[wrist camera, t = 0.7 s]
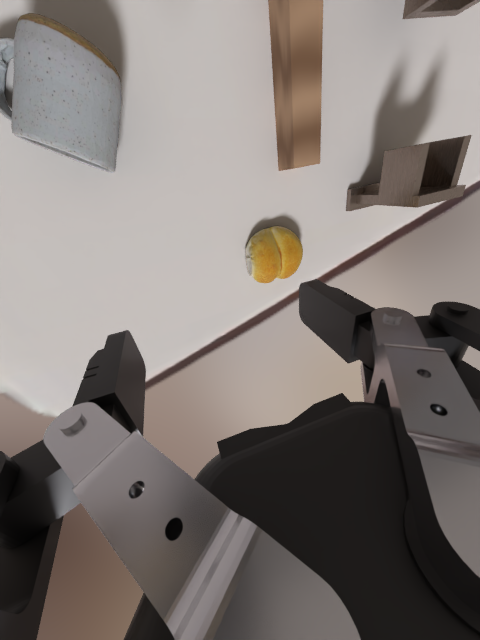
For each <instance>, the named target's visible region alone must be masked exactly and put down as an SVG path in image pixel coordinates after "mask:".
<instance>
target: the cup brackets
mask: <svg viewBox="0 0 480 640" xmlns="http://www.w3.org/2000/svg"><path fill="white" fill-rule="evenodd" d="M478 2H480V0H405V6H404V14H403V19H411V18H426V17H440V16H455V15H457V14H459V13H461V12H463V11H464V10H466V9H468V8H469V7H471V6H473V5H475V4H476V3H478ZM470 138H471V135H469V136H463V137H457V138H452V139H446V140H440V141H435V142H429V143H424V144H419V145H414V146H408V147H403V148H398V149H393V150H388V151H384V159H383V166H382V173H381V180H380V182H379V183H375V184H370V185H366V186H361V187H357V188H352V189H348V192H347V205H346V211H352V210H356V209H361V208H365V207H369V206H373V205H387V206H403V207H421V206H425V205H429V204H433V203H437V202H441V201H444V200H448V199H452V198H456V197H460V196H463V192H464V189H465V186H466V185H457V183H458V180H459V176H460V173H461V169H462V166H463V162H464V159H465V155H466V152H467V149H468V145H469V142H470Z"/></svg>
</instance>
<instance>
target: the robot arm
mask: <svg viewBox="0 0 480 640" xmlns="http://www.w3.org/2000/svg"><path fill="white" fill-rule="evenodd" d="M299 314H300V317H301V320H302V321H303V323H304V324H305V325H306V326H308V327H309V328H310V329H311V330H312V331H313V332H314V333H315V334H316V335H317V336H319V337H320V338H321V339H322V340H323V341H324V342H325V343H326V344H327V345H328V346H329V347H331V348H332V349H333V350H334V351H335V352H336V353H337V354H338V355H339V356H341V357H342V358H343V359H344V360H345V361H346V362H347V363H351V362H354V361H356V360H361V361H362V363H361V375H362V385H363V394H364V402H350V401H349V400H348V399H347V398H346V397H345V396H344V394H343V393H341V394H339V395H336V396H333V397H331V398H329V399H326V400H323V401H321V402H318V403H316V404H314V405H312V406H311V407H310V408H308V409H307V410H306V411H304V412H303V413H302V414H300V415H299V416H298V417H297V418H295V419H294V420H292V421H291V422H290V423H288V424H284V425H277V426H269V427H262V428H254V429H249V430H247V431H244V432H241V433H239V434H237V435H234V436H232V437H229V438H227V439H224V440H221V441H219V442H217V444H218V448H219V452H220V453H219V454H218V455H217V456H215V457H214V458H213V459H212V460H211V461H210V462H209V463H208V464H206V466H205V467H204V468H203V469H202V470H201V471H200V473H199V474H198V475H197V477H196V478H195V479H193V478H192V477H191V476H189V475H188V474H187V473H186V472H185V471H183V470H182V469H181V468H180V467H178V466H177V465H176V464H175V463H174V462H172V461H171V460H170V459H169V458H168V457H166V456H165V455H164V454H163V453H161V452H160V451H159V450H158V449H157V448H155V447H154V446H153V445H152V444H151V443H149V442H148V441H147V440H146V439H144V438H143V424H144V400H145V376H146V369H145V364H144V361H143V358H142V356H141V354H140V352H139V350H138V348H137V345H136V343H135V341H134V339H133V337H132V335H131V333H130V332H129V331H128V330H126V331H123V332H119V333H115V334H111V335H109V336H108V337H107V341H106V344H105V347H104V349H102V350H98V351H97V352H96V353H95V355H94V356H93V357H92V358H91V359H90V360H89V363H88V366H87V368H86V371H85V374H84V377H83V378H84V379H83V380H82V382H81V385H80V387H79V390H78V393H77V396H76V398H75V401H74V404H73V407H71V408H69V409H67V410H66V411H64V412H63V413H61V414H60V415H59V416H58V417H57V418H56V419H54V421H53V422H52V423H51V424H50V425H49V427H48V428H47V430H46V432H45V435H44V438H43V440H42V441H40V442H38V443H36V444H35V445H33V446H31V447H29V448H27V449H26V450H24V451H22V452H20V453H19V454H17V455H15V456H13V457H11V458H10V457H8V456H7V455H6V454H4V453H3V452H2V451H0V640H36V638H37V634H38V630H39V625H40V621H41V616H42V612H43V607H44V603H45V598H46V594H47V589H48V584H49V580H50V575H51V571H52V566H53V562H54V557H55V553H56V548H57V543H58V539H59V535H60V530H61V526H62V521H63V516H64V514H66V513H67V512H68V511H70V510H71V509H72V508H74V507H75V506H77V505H78V504H79V503H82V505H83V506H84V507H85V509H86V510H87V512H88V513H89V515H90V516H91V517H92V519H93V520H94V522H95V523H96V525H97V526H98V528H99V529H100V530H101V532H102V533H103V535H104V536H105V538H106V539H107V540H108V542H109V543H110V545H111V546H112V547H113V549H114V550H115V552H116V553H117V555H118V556H119V558H120V559H121V560H122V562H123V563H124V565H125V566H126V568H127V569H128V570H129V572H130V573H131V575H132V576H133V578H134V579H135V580H136V581H137V583H138V585H139V586H140V587H141V589H142V590H143V592H144V593H143V596H142V598H141V600H140V603H139V605H138V607H137V610H136V612H135V614H134V617H133V619H132V621H131V624H130V626H129V628H128V631H127V633H126V635H125V638H124V640H480V371H479V370H477V369H476V368H474V367H472V366H471V365H469V364H468V363H466V362H464V361H462V358H463V356H464V354H465V352H466V350H467V348H468V346H471V347H473V348H475V349H477V350H478V351H480V309H477V308H475V307H473V306H470V305H467V304H462V303H458V302H439V303H436V304H434V305H433V307H432V310H431V313H430V315H429V316H418V317H414V316H413V315H411V314H410V313H409V312H407V311H404V310H401V309H397V308H389V307H384V308H378V309H375V308H373V307H370V306H369V305H367V304H366V303H364V302H362V301H360V300H358V299H356V298H354V297H353V296H351V295H349V294H348V295H347V293H345V292H344V291H342V290H340V289H338V288H334V287H330V286H328V285H326V284H324V283H323V282H321V281H319V280H317V279H315V280H311V281H308V282H304V283H301V284H300V287H299Z"/></svg>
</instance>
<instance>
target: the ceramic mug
mask: <svg viewBox="0 0 480 640" xmlns="http://www.w3.org/2000/svg"><path fill="white" fill-rule="evenodd" d="M13 58H14V81H13V98H12V111H11V110H10V108H9V106H8V104H7V102H6V97H5V92H4V90H5V75H6V71H7V64H8V62H9V61H10V60H11V59H13ZM121 100H122V98H121V83H120V77H119V75H118V73H117V71H116V69H115V68H114V66H113V65H112V63H111V62H110V61H109V59H108V58H107V57H106V56H105V55H104V54H103V53H102V52H101V51H100V50H99V49H97V48H96V47H95V46H94V45H92V44H91V43H90V42H89V41H87V40H86V39H85V38H83V37H82V36H80V35H79V34H77V33H76V32H74V31H73V30H71V29H69V28H68V27H66V26H64V25H62V24H60V23H58V22H56V21H54V20H52V19H49V18H47V17H44V16H42V15H39V14H34V13H29V14H25V15H22V16H21V17H20V18H19V20H18V23H17V27H16V32H15V36H14V39H11V38H0V113H2V114H3V115H4V116H5V117H6V118H7V119H9V120H10V121H11V122H12V132H13V134H14V135H15V136H17V137H19V138H21V139H23V140H26V141H28V142H31V143H33V144H35V145H38V146H40V147H43V148H45V149H47V150H50V151H52V152H55V153H57V154H60V155H62V156H66V157H68V158H71V159H73V160H76V161H78V162H81V163H84V164H87V165H89V166H92V167H95V168H98V169H101V170H104V171H107V172H111V173H112V172H115V168H116V156H117V145H118V135H119V121H120V111H121Z"/></svg>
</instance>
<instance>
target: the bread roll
mask: <svg viewBox="0 0 480 640" xmlns="http://www.w3.org/2000/svg"><path fill="white" fill-rule="evenodd" d="M302 255H303V249H302V244H301V242H300V240H299V238H298V237H297V236H296V235H295V234H294V233H293V232H292V231H290V230H289V229H287V228H284V227H280V226H273V227H270V228H267V229H263V230H261V231H259V232H257V233H256V234H255V235H254V236H252V237H251V239H250V240H249V242H248V244H247V247H246V265H247V269H248V273H249V275H250V276H251V277H253V278H254V279H255V280H256V281H258V282H260V283H269V282H271V281H273V280H274V279H275V278H280V279H285V278H288V277H290V276H291V275H292V274H294V273H295V271H296V270H297V269H298V267H299V265H300V263H301V260H302Z"/></svg>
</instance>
